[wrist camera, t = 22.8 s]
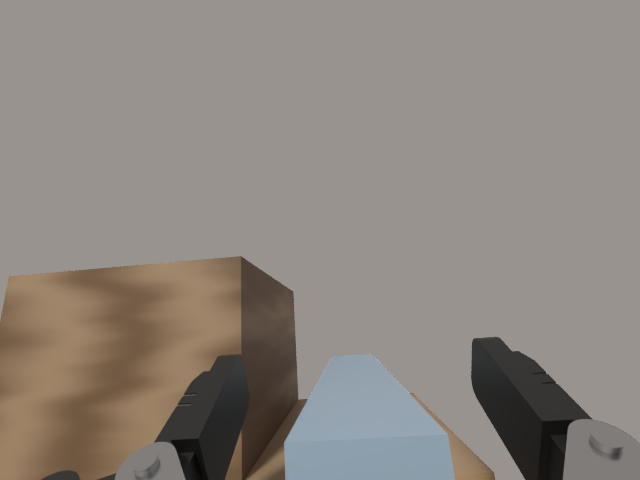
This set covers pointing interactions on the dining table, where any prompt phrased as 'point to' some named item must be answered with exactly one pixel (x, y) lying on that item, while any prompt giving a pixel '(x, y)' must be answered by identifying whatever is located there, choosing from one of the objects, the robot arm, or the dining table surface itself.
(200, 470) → the robot arm
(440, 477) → the slate-blue bar
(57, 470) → the walnut stand
